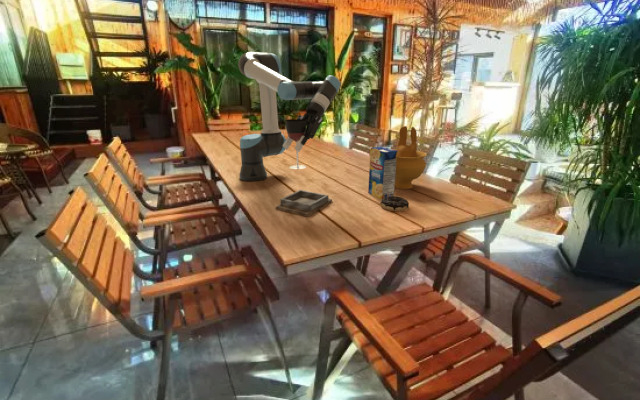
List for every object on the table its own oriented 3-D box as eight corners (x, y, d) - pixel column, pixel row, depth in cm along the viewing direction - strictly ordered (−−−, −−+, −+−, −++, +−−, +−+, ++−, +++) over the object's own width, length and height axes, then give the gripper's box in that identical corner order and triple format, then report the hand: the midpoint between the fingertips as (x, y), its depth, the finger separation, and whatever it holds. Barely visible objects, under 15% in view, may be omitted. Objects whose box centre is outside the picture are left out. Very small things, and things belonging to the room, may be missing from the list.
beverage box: (381, 199, 150) (385, 152, 143) (368, 193, 160) (370, 147, 152) (393, 197, 153) (397, 150, 146) (379, 191, 163) (382, 146, 155)
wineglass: (287, 165, 148) (285, 119, 141) (307, 164, 149) (305, 119, 142) (287, 169, 140) (285, 121, 134) (308, 168, 141) (306, 121, 135)
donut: (388, 201, 149) (389, 193, 148) (413, 207, 142) (414, 198, 141) (376, 208, 141) (376, 199, 140) (401, 215, 134) (402, 205, 133)
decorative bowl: (373, 185, 170) (376, 126, 160) (394, 177, 185) (399, 122, 174) (410, 195, 157) (417, 131, 146) (430, 185, 171) (437, 126, 161)
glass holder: (276, 209, 140) (275, 200, 138) (302, 195, 156) (302, 188, 155) (307, 216, 132) (307, 207, 131) (332, 201, 148) (332, 193, 147)
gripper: (338, 113, 141) (311, 157, 135) (306, 111, 154) (281, 151, 149) (329, 101, 135) (301, 146, 130) (297, 100, 149) (270, 140, 144)
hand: (290, 148), depth 139 cm, fingers closed on wineglass, 7 cm apart
